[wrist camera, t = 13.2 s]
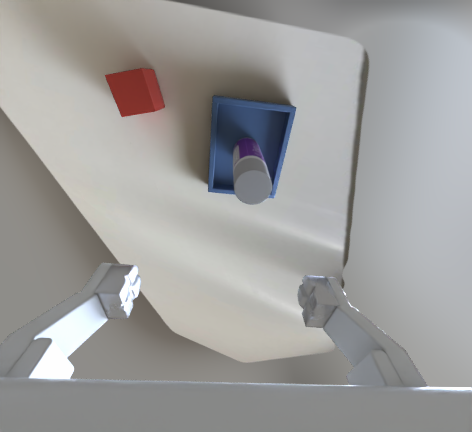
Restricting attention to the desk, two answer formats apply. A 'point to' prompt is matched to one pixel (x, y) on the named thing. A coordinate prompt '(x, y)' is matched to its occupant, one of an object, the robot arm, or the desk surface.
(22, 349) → the robot arm
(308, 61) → the desk surface
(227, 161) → the tray
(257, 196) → the container
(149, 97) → the red block
